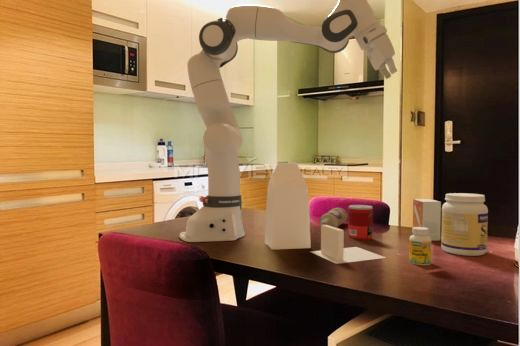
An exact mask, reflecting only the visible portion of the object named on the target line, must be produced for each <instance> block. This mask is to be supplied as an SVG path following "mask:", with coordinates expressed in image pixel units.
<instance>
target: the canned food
mask: <svg viewBox="0 0 520 346" xmlns="http://www.w3.org/2000/svg"><path fill="white" fill-rule="evenodd" d="M347 208H348V210H347V211H348V212H347V216H348V218H347V222H348V223H347V224H348V225H347V229H348V231H347V234H348V238H350V239H354V240H355V239H356V240H358V241H362V242H364V241H365V242H366V241H367V242H368V241H371V240H373V239H372V238H373V220H374V219H373V218H374V216H373V215H374V210H373V209H374V208H373V206H372V205H366V204H351V205H348V207H347Z"/></svg>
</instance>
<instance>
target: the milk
mask: <svg viewBox="0 0 520 346" xmlns="http://www.w3.org/2000/svg"><path fill="white" fill-rule="evenodd" d="M266 192H267V193H266V206H265V207H266V210H265V227H264V245H266V246H268V247H269V248H270V249H271V250H288V249H289V250H292V249H293V250H294V249H295V250H296V249H311V244H312V243H311V223H310V196H309V187H308V184H307V181H306V179H305V177H304V175H303V173H302V171H301V169H300V166H299V165H298V162H288V163H278V162H277V163H276V165H275V167H274V170H273V173H272V175H271V177H270V179H269V181H268V184H267V189H266Z"/></svg>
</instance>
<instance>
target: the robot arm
mask: <svg viewBox="0 0 520 346" xmlns="http://www.w3.org/2000/svg"><path fill="white" fill-rule="evenodd" d="M387 32H388V30H387V28H386V26H385V25H381V23H380V21H379V20H378V19H377V18H376V16H375V13H374V10H373V8H372V6H371V4H370V3H369V2H368V0H338V1H337V4H336V6H335V7H334V9H333V10H332V11H331V13H330V14H328V16H327V17H325V19H324V20H323V22H322V24H321V26H314V25H306V24H300V23H297V22H294V21H292V20H291V19H290V18H288V17H287V16H286V15H285V14H284V13H283V12H282V11H281V10H280V8H279V9H278V8H276V7H272V6H269V5H268V6H267V5H261V4H239V5H238V4H237V5H234V6H231V7H230V8H229V9H228V11H227V13H226V17H225V18H224V17H220V18H218V19H216V20H212V21H209V22H207V23H205V24H204V25H203V26H202V27H201V29H200V30H199V35H198V41H199V45H200V47H201V51H200V52H199V53H196V54H193V56H191V57H190V58H189V59H188V61H187V64H186V65H187V67H186V68H187V73H188V79H189V84H190V88H191V91H192V94H193V97H194V100H195V101H194V102H195V104H196V107H197V110H198V114H199V115H200V117H201V119H202V121H203V124H204V125H205V128H206V129H205V131H204V132H203V137H202V138H203V139H202V140H203V145H204V152H205V160H206V167H207V179H208V180H207V181H208V182H207V183H208V184H207V185H208V187H207V190H208V191H207V194H208V195H206V196H203V195H201V196H199V201H200V202H201V203H202V207H201V208H199V209H198V210H197V211H196V212H195V213H193V214H192V215H191V216H189V217H188V219H187V221H186V227H185V231H181V232H180V233H179V238H180V240H182V241H184V242H188V243H201V242H202V243H204V242H226V241H228V242H229V241H236V240H237V239H240V238H243V237H245V235H246V234H245V231H244V226H243V219H242V207H243V201H242V195H241V171H240V165H239V164H240V163H239V153H238V152H239V150H240V149H241V147H242V145H243V135H242V132H241V129H240V126H239V124H238V120H237V118H236V116H235V113H234V111H233V109H232V105H231V104H230V101H229V96H228V93H227V90H226V88H225V83H224V81H223V78H222V75H221V71H220V69H221V68H222V67H224V66H226V65H227V64H228V63H229V62H231V61H232V60H234V59H235V58H236V56H237V54H238V50H239V49H238V48H239V47H238V46H239V45H238V42H239V41H241V40H248V39H249V40H254V41H255V40H256V41H270V42H275V41H277V42H290V43H296V44H301V45H302V44H304V45H309V46H315V47H318V48H320V49H322V50H323V51H325V52H327V53H330V54H338V53H340V52H342V51H344V50H345V49H346V47H347V46H348V45H349V42H350V37H354V38H355V41H356V43H357V44H358V46H359V48H360V50H361V51H365V50H366V55H367V58H368V59H369V60H368V61H369V62H370V64H371V66H372V68H373V69H374V71H378V70H379V72H380V73H381V74H382V75H383V77H384V78H385V79H386V80H387V79H390V78H391V77H392V75H394V74H396V73H397V72H398V69H397V68H396V64H395V61H394V58H393V56H394V55H395V54H396V53H395V48H394V46H393V43H392V41H391V39H390V37H389V35H388V34H387ZM387 67H388V68H387Z"/></svg>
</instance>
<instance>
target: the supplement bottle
mask: <svg viewBox="0 0 520 346" xmlns="http://www.w3.org/2000/svg"><path fill="white" fill-rule="evenodd" d="M411 232H412V233H411V234H412V235H410V236H409V242H408V244H409V245H408V247H409V248H408V249H409V251H408V255H409V256H408V257H409V258H408V261H409V263H410V264H413V265H417V266H419V265H420V266H430V265H431V264H432V241H431V238H430V237H429V236H427V234H428V233H429V229H428V228H425V227H413V226H412V229H411Z"/></svg>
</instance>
